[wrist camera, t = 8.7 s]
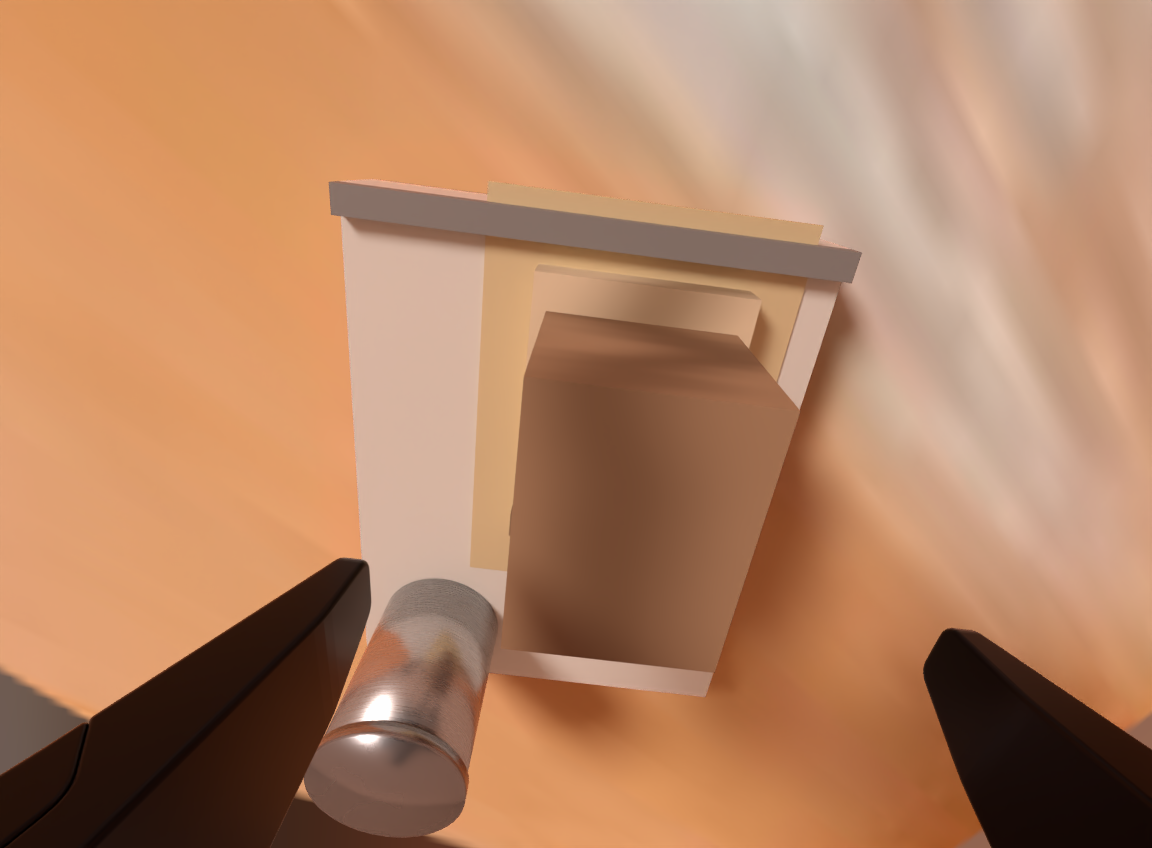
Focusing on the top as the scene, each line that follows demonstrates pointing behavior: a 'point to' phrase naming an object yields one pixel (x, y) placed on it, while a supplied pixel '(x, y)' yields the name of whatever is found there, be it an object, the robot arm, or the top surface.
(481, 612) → the canister
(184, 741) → the robot arm
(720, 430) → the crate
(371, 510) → the dock
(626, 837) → the top surface
